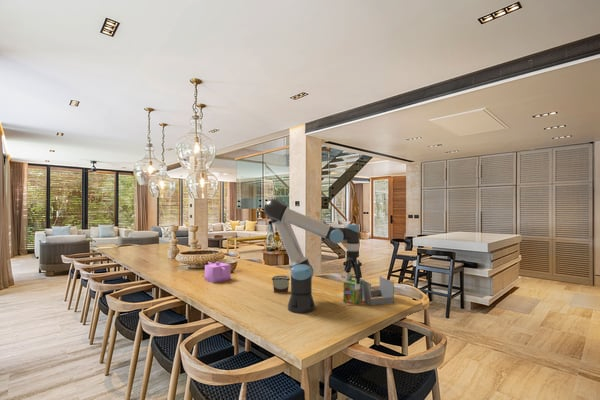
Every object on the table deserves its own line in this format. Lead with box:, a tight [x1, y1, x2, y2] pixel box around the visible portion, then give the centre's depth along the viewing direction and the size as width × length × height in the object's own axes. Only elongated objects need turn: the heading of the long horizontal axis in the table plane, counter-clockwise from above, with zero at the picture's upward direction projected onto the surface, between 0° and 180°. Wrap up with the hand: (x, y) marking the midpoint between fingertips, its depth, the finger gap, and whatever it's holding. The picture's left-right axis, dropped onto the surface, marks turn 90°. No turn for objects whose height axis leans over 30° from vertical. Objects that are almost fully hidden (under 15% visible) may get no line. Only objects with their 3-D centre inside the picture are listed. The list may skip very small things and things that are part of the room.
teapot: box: [204, 261, 232, 284], centre depth 235 cm, size 15×25×14 cm, turn 44°
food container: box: [271, 275, 291, 294], centre depth 201 cm, size 12×6×10 cm, turn 84°
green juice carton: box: [342, 275, 363, 304], centre depth 177 cm, size 9×9×15 cm
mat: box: [341, 298, 367, 307], centre depth 177 cm, size 11×11×1 cm
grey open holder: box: [360, 275, 395, 306], centre depth 181 cm, size 15×16×12 cm
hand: (352, 286), depth 177 cm, fingers open, 13 cm apart
